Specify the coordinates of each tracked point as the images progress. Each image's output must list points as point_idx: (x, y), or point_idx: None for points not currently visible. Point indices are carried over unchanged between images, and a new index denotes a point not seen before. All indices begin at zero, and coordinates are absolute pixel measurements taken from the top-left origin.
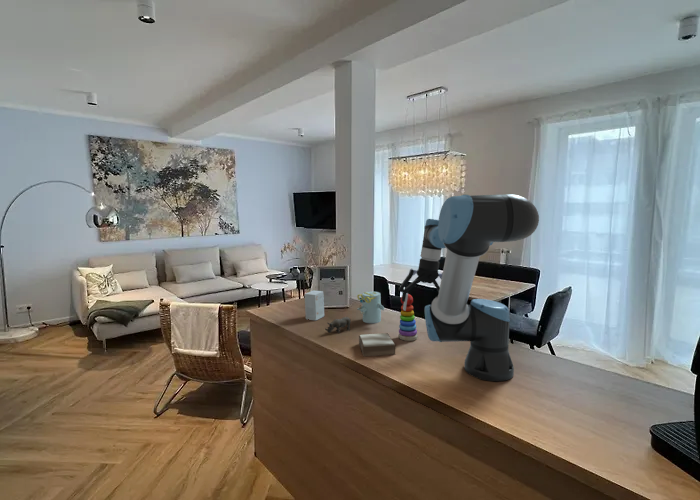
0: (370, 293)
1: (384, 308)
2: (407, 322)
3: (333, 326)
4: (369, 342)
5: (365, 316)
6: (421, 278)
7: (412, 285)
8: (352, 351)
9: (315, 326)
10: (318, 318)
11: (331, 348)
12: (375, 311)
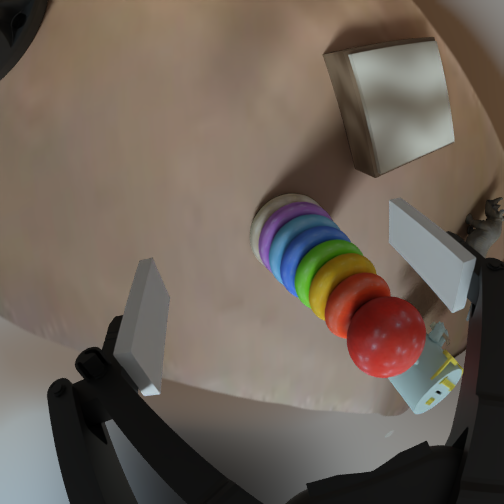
0: (438, 394)
1: None
2: (324, 234)
3: (492, 214)
4: (427, 67)
5: None
6: (490, 465)
7: (500, 340)
8: None
9: (496, 243)
10: None
11: (478, 101)
12: None
